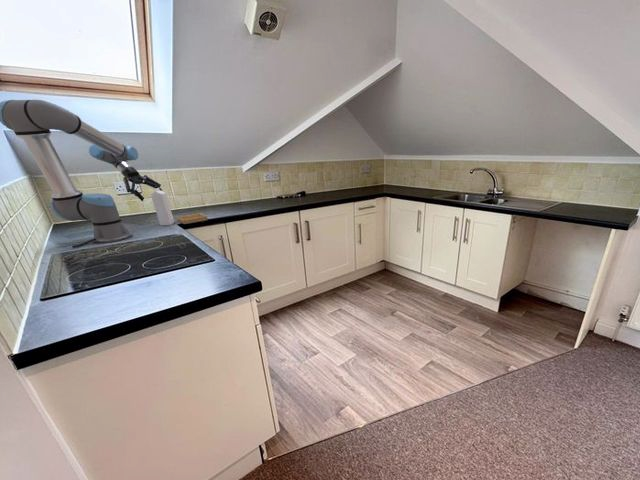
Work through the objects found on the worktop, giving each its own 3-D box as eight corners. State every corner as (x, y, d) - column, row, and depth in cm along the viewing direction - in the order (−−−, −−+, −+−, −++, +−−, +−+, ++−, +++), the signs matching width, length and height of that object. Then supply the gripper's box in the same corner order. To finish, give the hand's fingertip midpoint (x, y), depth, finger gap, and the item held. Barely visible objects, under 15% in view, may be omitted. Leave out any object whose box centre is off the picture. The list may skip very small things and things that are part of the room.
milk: (160, 225, 184) (148, 189, 175) (164, 223, 189) (153, 187, 180) (171, 225, 185) (159, 188, 176) (174, 222, 190) (164, 187, 181)
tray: (184, 224, 186) (182, 220, 185) (177, 221, 194) (176, 217, 193) (207, 220, 195) (206, 216, 194) (200, 217, 204) (199, 213, 203)
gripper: (146, 173, 193) (170, 198, 195) (105, 178, 172) (131, 205, 173) (150, 165, 189) (174, 190, 191) (107, 168, 168) (134, 196, 170)
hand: (154, 197), depth 182 cm, fingers open, 13 cm apart
